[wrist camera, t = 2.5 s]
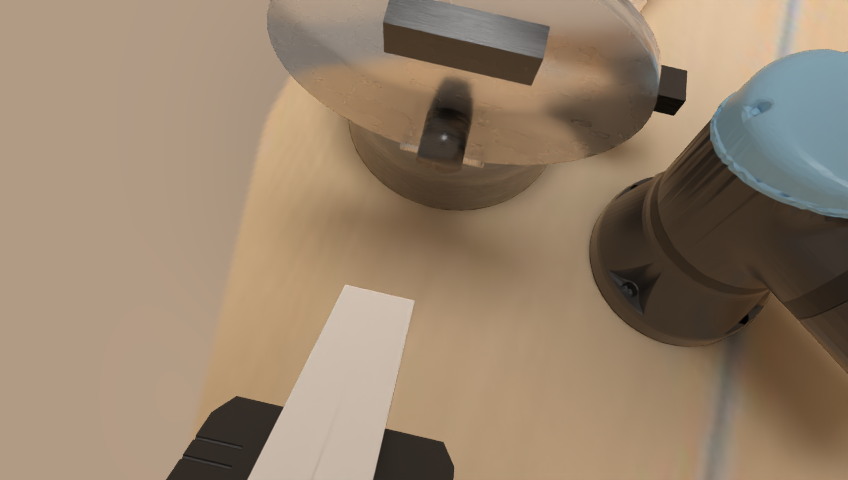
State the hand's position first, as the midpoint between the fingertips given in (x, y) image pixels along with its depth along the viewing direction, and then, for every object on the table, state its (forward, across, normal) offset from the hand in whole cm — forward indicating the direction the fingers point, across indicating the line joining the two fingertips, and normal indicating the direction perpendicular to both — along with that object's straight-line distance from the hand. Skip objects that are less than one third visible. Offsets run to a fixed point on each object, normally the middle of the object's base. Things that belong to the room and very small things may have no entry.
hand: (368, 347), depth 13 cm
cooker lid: (+24, 0, +4) cm, 24 cm away
